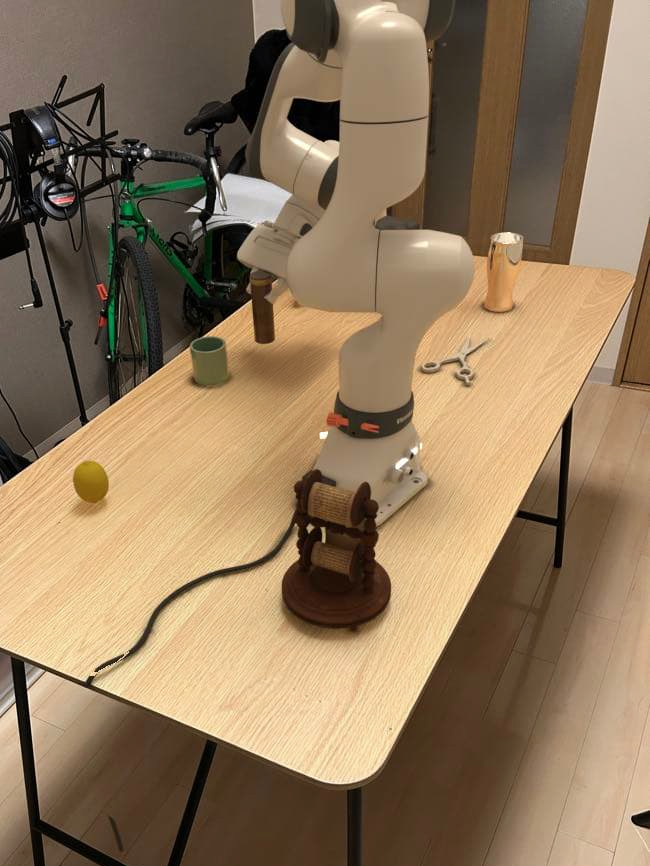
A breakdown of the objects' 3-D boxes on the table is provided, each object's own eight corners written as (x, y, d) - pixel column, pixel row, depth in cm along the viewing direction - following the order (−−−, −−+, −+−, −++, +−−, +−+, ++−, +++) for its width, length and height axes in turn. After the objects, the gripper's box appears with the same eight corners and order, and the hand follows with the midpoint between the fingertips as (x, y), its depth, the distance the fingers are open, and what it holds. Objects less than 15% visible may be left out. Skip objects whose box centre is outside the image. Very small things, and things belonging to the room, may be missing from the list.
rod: (268, 345, 157) (264, 280, 149) (250, 342, 159) (245, 277, 151) (279, 337, 160) (275, 272, 152) (261, 333, 162) (256, 269, 153)
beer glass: (480, 312, 178) (488, 243, 169) (483, 299, 183) (490, 231, 174) (514, 313, 176) (523, 244, 167) (515, 300, 181) (525, 232, 172)
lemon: (96, 488, 137) (87, 448, 132) (119, 499, 134) (110, 458, 129) (71, 505, 134) (61, 464, 129) (94, 516, 131) (84, 475, 126)
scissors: (416, 370, 158) (456, 328, 171) (416, 374, 159) (456, 332, 171) (468, 382, 153) (506, 338, 166) (468, 386, 154) (505, 341, 166)
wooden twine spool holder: (407, 581, 114) (415, 461, 101) (363, 651, 104) (366, 529, 92) (312, 551, 120) (308, 435, 108) (262, 615, 111) (252, 496, 98)
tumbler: (216, 390, 160) (213, 355, 155) (187, 383, 163) (182, 348, 158) (235, 374, 164) (232, 339, 160) (206, 368, 168) (202, 333, 163)
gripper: (252, 209, 156) (216, 275, 158) (324, 234, 143) (284, 305, 145) (271, 227, 161) (236, 290, 163) (343, 252, 148) (304, 320, 150)
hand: (259, 297), depth 154 cm, fingers closed on rod, 4 cm apart
